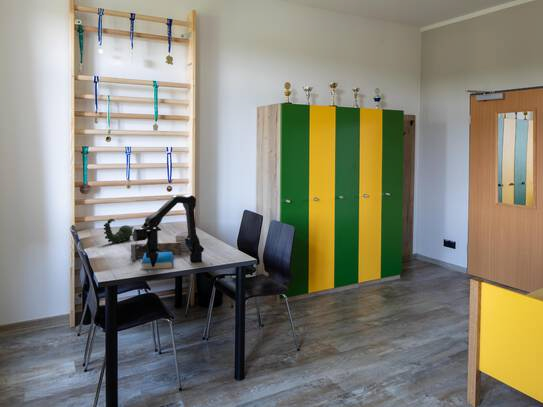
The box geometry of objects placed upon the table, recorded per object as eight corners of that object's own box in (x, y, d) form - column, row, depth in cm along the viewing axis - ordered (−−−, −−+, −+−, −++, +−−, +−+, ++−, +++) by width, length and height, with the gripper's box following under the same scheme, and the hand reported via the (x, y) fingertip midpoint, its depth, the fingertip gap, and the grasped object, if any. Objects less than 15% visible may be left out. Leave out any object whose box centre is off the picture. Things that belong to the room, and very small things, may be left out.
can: (196, 250, 301) (196, 232, 299) (186, 254, 291) (186, 235, 289) (182, 248, 306) (181, 231, 304) (171, 252, 295) (171, 234, 294)
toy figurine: (112, 247, 316) (139, 238, 337) (109, 221, 312) (136, 213, 333) (102, 246, 321) (130, 237, 342) (99, 220, 317) (127, 212, 338)
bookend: (137, 257, 282) (136, 241, 281) (135, 261, 272) (135, 244, 271) (133, 257, 282) (133, 241, 281) (132, 261, 272) (131, 244, 271)
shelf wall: (181, 254, 289) (180, 241, 288) (181, 255, 287) (180, 242, 286) (131, 256, 284) (131, 243, 283) (131, 257, 282) (131, 244, 281)
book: (141, 263, 254) (143, 252, 279) (142, 270, 255) (144, 259, 279) (173, 261, 258) (172, 250, 282) (173, 268, 259) (173, 257, 283)
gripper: (138, 236, 261) (139, 263, 262) (135, 243, 242) (136, 271, 244) (158, 236, 263) (159, 262, 264) (157, 242, 245) (158, 270, 246)
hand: (153, 266), depth 255 cm, fingers closed
